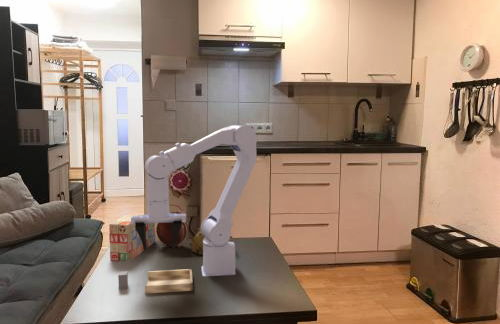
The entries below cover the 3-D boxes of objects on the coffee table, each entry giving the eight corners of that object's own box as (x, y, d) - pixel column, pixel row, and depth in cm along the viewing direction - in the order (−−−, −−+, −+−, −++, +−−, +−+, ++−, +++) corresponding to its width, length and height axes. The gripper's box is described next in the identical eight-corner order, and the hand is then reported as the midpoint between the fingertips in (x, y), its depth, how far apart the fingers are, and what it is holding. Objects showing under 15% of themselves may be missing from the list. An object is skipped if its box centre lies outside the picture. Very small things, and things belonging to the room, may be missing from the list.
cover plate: (140, 284, 110) (139, 267, 110) (137, 295, 104) (137, 277, 103) (110, 286, 109) (109, 269, 109) (105, 297, 102) (104, 279, 102)
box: (191, 277, 114) (191, 269, 114) (192, 292, 104) (192, 283, 104) (148, 280, 112) (148, 271, 112) (145, 295, 102) (144, 286, 102)
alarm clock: (189, 245, 143) (189, 204, 141) (184, 249, 138) (183, 207, 136) (161, 243, 145) (160, 202, 144) (155, 247, 141) (154, 205, 139)
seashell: (234, 258, 134) (237, 229, 133) (190, 257, 130) (193, 226, 130) (228, 249, 144) (231, 221, 144) (187, 247, 141) (190, 219, 140)
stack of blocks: (139, 241, 148) (138, 208, 147) (155, 242, 147) (155, 209, 146) (109, 261, 127) (108, 223, 126) (128, 262, 126) (127, 224, 125)
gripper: (185, 196, 115) (186, 242, 116) (132, 197, 112) (134, 245, 114) (185, 201, 108) (186, 250, 109) (129, 203, 105) (131, 253, 107)
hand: (159, 248), depth 111 cm, fingers open, 7 cm apart
